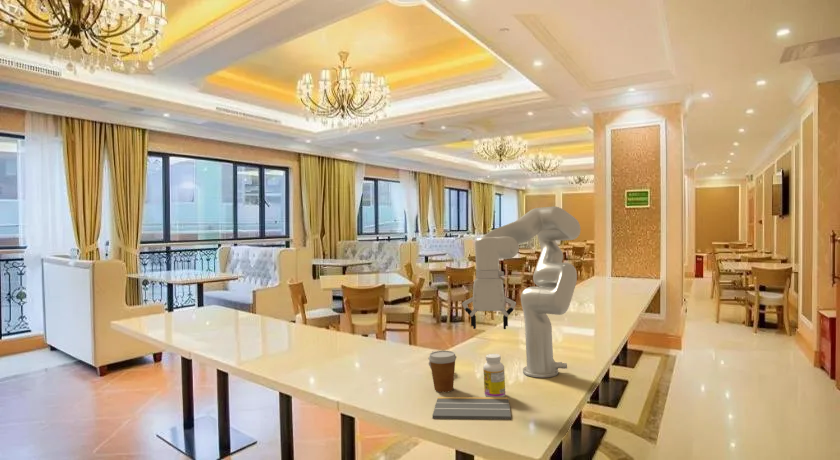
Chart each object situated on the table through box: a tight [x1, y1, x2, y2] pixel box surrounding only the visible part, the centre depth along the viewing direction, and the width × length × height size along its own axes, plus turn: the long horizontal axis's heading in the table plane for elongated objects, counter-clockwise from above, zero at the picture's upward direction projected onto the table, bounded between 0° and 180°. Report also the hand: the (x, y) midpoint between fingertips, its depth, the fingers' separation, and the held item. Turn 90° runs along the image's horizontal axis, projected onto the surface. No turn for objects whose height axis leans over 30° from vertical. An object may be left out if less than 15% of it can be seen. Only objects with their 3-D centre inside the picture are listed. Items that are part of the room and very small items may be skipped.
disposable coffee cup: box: [427, 350, 457, 393], centre depth 153 cm, size 10×10×12 cm
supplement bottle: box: [482, 353, 506, 397], centre depth 144 cm, size 7×7×13 cm
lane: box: [432, 396, 512, 420], centre depth 134 cm, size 22×15×1 cm
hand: (489, 328), depth 145 cm, fingers open, 9 cm apart
